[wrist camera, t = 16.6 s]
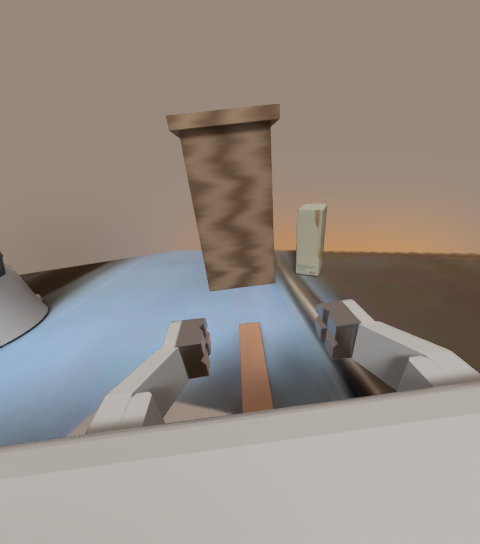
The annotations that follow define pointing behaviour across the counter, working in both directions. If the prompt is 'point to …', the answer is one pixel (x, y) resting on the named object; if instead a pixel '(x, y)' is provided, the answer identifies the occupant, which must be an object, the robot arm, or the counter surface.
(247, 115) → the pedestal
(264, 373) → the bar
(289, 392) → the counter surface
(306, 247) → the skincare box
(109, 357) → the counter surface
